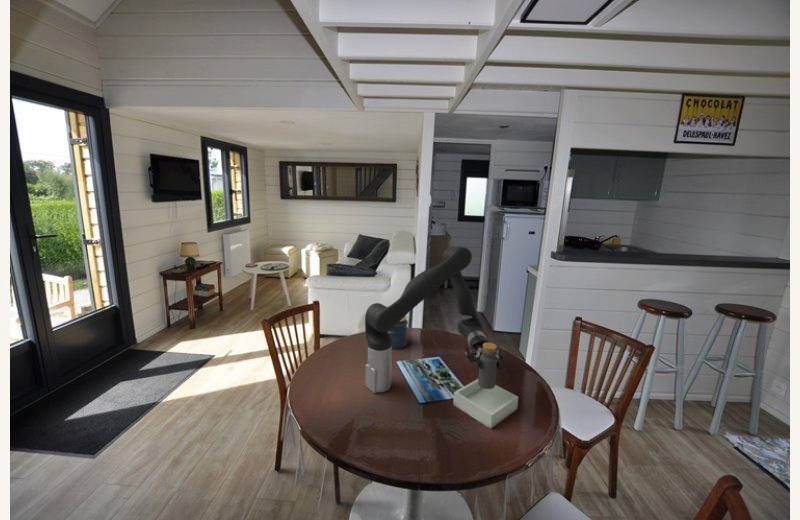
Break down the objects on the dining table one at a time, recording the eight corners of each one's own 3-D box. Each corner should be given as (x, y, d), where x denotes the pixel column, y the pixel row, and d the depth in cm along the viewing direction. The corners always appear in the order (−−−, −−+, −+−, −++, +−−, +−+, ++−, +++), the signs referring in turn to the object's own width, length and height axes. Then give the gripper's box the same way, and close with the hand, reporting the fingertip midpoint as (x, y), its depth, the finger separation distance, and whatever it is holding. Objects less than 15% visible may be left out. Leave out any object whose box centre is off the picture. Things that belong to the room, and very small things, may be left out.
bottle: (495, 390, 114) (499, 350, 110) (478, 388, 115) (481, 348, 111) (494, 380, 119) (497, 342, 116) (477, 378, 120) (480, 340, 117)
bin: (490, 429, 107) (491, 415, 106) (453, 404, 119) (453, 392, 118) (517, 409, 118) (518, 396, 117) (480, 388, 130) (481, 377, 129)
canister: (383, 337, 173) (384, 305, 170) (408, 338, 172) (409, 306, 169) (379, 348, 161) (380, 314, 157) (406, 350, 159) (407, 316, 156)
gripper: (461, 334, 128) (470, 355, 112) (498, 335, 128) (512, 356, 112) (459, 352, 130) (468, 375, 113) (496, 352, 130) (510, 376, 113)
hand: (490, 366), depth 113 cm, fingers closed on bottle, 5 cm apart
